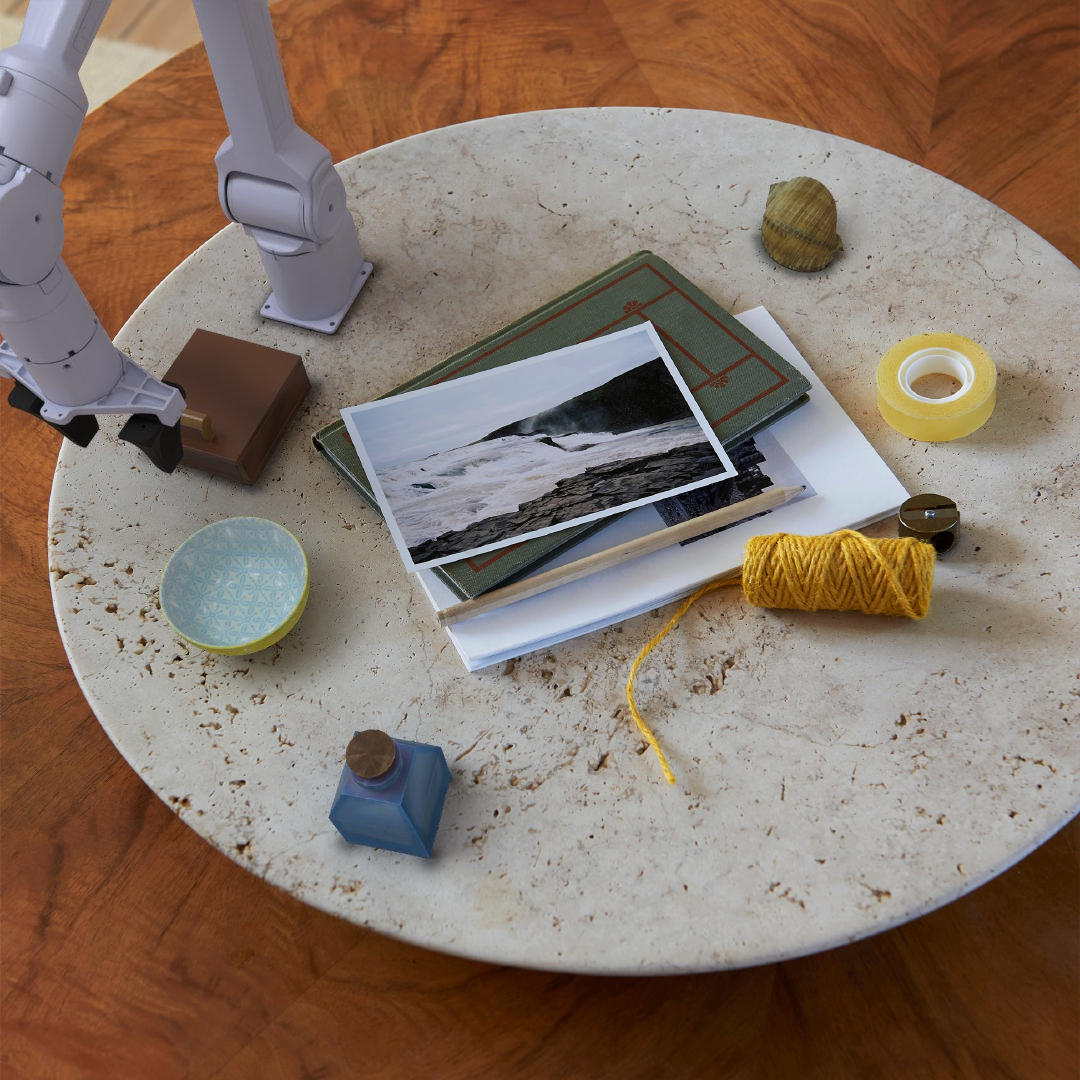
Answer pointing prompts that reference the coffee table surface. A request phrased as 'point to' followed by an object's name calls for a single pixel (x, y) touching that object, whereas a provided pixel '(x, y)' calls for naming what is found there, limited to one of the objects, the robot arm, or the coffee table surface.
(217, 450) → the lid
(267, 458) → the box
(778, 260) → the seashell
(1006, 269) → the coffee table surface
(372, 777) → the perfume bottle
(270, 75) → the robot arm
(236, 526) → the bowl
